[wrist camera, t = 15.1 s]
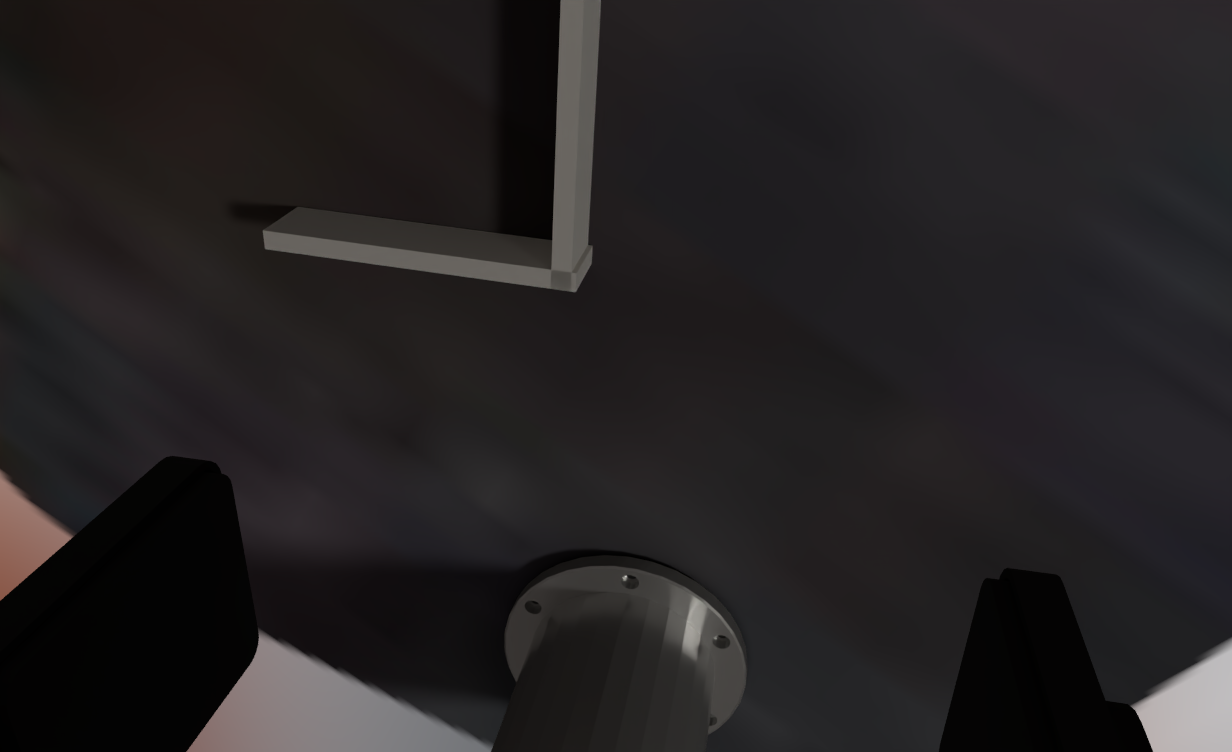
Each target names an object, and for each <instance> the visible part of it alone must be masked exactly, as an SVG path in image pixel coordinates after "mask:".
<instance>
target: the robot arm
mask: <svg viewBox="0 0 1232 752" xmlns="http://www.w3.org/2000/svg"><path fill="white" fill-rule="evenodd" d="M258 639H259V634H258V627H257V622H256V616H255V610H254V605H253V599H252V594H251V588H250V583H249V577H248V571H247V566H246V560H245V555H244V549H243V543H242V538H241V532H240V527H239V521H238V516H237V510H236V504H235V499H234V493H233V488H232V484H231V480H230V479H229V477H228V476H226V475H224V474H221V471H220V468H219V467H218V466H217V464H216V463H214V462H212V461H206V460H198V459H191V458H183V457H176V456H170V457H166V458H164V459H163V460H161V461H160V462H159V463H158V464H156V465H155V466H154V467H153V468H152V469H151V470H150V471H148V472H147V473H146V474H145V475H144V476H143V477H142V478H140V479H139V480H138V481H137V482H136V483H135V484H134V485H132V486H131V487H130V488H129V489H128V490H127V491H126V492H124V493H123V494H122V495H121V496H120V497H119V498H118V499H116V500H115V501H114V502H113V503H112V504H111V505H109V506H108V507H107V508H106V509H105V510H104V511H103V512H101V513H100V514H99V515H98V516H97V517H96V518H95V519H93V520H92V521H91V522H90V523H89V524H88V525H87V526H85V527H84V528H83V529H82V530H81V531H80V532H79V533H77V534H76V535H75V536H74V537H73V538H72V539H71V540H69V541H68V542H67V543H66V544H65V545H64V546H63V547H61V548H60V549H59V550H58V551H57V552H56V553H55V554H54V555H52V556H51V557H50V558H49V559H48V560H47V561H46V562H44V563H43V564H42V565H41V566H40V567H38V568H37V569H36V570H35V571H34V572H33V573H32V574H30V575H29V576H28V577H27V578H26V579H25V580H24V581H22V582H21V583H20V584H19V585H18V586H17V587H16V588H14V589H13V590H12V591H11V592H10V593H9V594H8V595H7V596H5V597H4V598H3V599H2V600H1V601H0V752H186V751H187V750H188V749H189V747H190V746H191V745H192V743H193V742H194V741H195V739H196V738H197V736H198V735H199V734H200V732H201V731H202V730H203V728H204V727H205V725H206V724H207V723H208V721H209V720H210V719H211V717H212V716H213V714H214V713H215V712H216V710H217V709H218V707H219V706H220V705H221V703H222V702H223V701H224V699H225V698H226V697H227V695H228V694H229V692H230V691H231V690H232V688H233V687H234V686H235V684H236V683H237V681H238V680H239V679H240V677H241V676H242V675H243V673H244V672H245V670H246V669H247V668H248V666H249V665H250V663H251V662H252V660H253V658H254V655H255V653H256V650H257V646H258ZM504 650H505V654H506V659H507V663H508V667H509V669H510V671H511V673H512V675H513V677H514V679H515V681H516V685H515V688H514V691H513V694H512V696H511V699H510V702H509V704H508V707H507V710H506V713H505V715H504V718H503V721H502V724H501V726H500V729H499V732H498V734H497V737H496V740H495V743H494V745H493V748H492V751H491V752H706V745H707V737H708V734H710V733H712V732H714V731H715V730H717V729H718V728H719V727H720V726H721V725H723V724H724V723H725V722H726V721H727V720H728V719H729V718H730V717H731V716H732V714H733V713H734V711H735V710H736V708H737V707H738V705H739V703H740V701H741V698H742V695H743V692H744V689H745V686H746V676H747V653H746V646H745V643H744V640H743V637H742V634H741V631H740V629H739V628H738V626H737V624H736V623H735V621H734V619H733V618H732V616H731V614H730V613H729V611H728V610H727V609H726V608H725V607H724V606H723V605H722V604H721V603H720V601H719V600H718V599H717V598H716V597H715V596H714V595H713V594H711V593H710V592H709V591H707V590H706V589H705V588H704V587H702V586H701V585H700V584H699V583H697V582H696V581H694V580H692V579H690V578H688V577H687V576H685V575H683V574H681V573H679V572H678V571H676V570H673V569H671V568H668V567H665V566H663V565H660V564H657V563H655V562H651V561H647V560H642V559H637V558H633V557H627V556H610V555H601V556H590V557H581V558H577V559H574V560H570V561H566V562H563V563H560V564H558V565H556V566H554V567H552V568H550V569H548V570H546V571H544V572H542V573H541V574H539V575H538V576H537V577H536V578H534V579H533V580H532V581H531V582H529V583H528V584H527V585H526V587H525V588H524V589H523V591H522V592H521V593H520V595H519V596H518V597H517V599H516V601H515V604H514V606H513V608H512V610H511V612H510V615H509V617H508V621H507V625H506V628H505V632H504ZM939 752H1153V750H1152V748H1151V745H1150V743H1149V740H1148V738H1147V735H1146V733H1145V730H1144V728H1143V725H1142V723H1141V721H1140V719H1139V717H1138V715H1137V713H1136V711H1135V710H1134V709H1133V708H1132V707H1130V706H1129V705H1128V704H1123V703H1116V702H1110V701H1105V698H1104V695H1103V693H1102V690H1101V687H1100V684H1099V682H1098V679H1097V676H1096V673H1095V670H1094V668H1093V665H1092V662H1091V659H1090V657H1089V654H1088V651H1087V648H1086V645H1085V643H1084V640H1083V637H1082V634H1081V632H1080V629H1079V626H1078V623H1077V621H1076V618H1075V615H1074V612H1073V609H1072V607H1071V604H1070V601H1069V598H1068V596H1067V593H1066V590H1065V587H1064V585H1063V582H1062V580H1061V578H1060V577H1059V576H1058V575H1055V574H1048V573H1040V572H1033V571H1026V570H1018V569H1011V568H1006V569H1004V570H1003V572H1002V574H1001V576H1000V579H999V580H997V579H990V578H986V579H985V580H984V581H983V583H982V586H981V589H980V593H979V597H978V601H977V605H976V609H975V612H974V616H973V620H972V624H971V628H970V632H969V635H968V639H967V643H966V647H965V651H964V655H963V658H962V662H961V666H960V670H959V674H958V678H957V681H956V685H955V689H954V693H953V697H952V701H951V704H950V708H949V712H948V716H947V720H946V724H945V727H944V731H943V735H942V739H941V743H940V748H939Z"/></svg>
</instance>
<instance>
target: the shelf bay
mask: <svg viewBox="0 0 1232 752" xmlns="http://www.w3.org/2000/svg"><path fill="white" fill-rule="evenodd" d="M600 10H601V0H561V5H560V34H559V63H558V92H557V121H556V150H555V179H554V208H553V237H552V240H546V239H538V238H531V237H523V236H516V235H508V234H500V233H493V232H485V231H478V230H470V229H463V228H455V227H447V226H440V225H432V224H425V223H417V222H410V221H402V220H394V219H387V218H379V217H372V216H364V215H357V214H349V213H342V212H334V211H326V210H319V209H311V208H304V207H297V208H295V209H294V210H292V211H291V212H289V213H288V214H286V215H285V216H283V217H282V218H281V219H279V220H278V221H276V222H275V223H273V224H272V225H270V226H269V227H267V228H266V229H264V230H263V236H264V244H265V249H269V250H276V251H283V252H290V253H298V254H305V255H312V256H319V257H326V258H334V259H341V260H348V261H355V262H362V263H370V264H377V265H384V266H391V267H398V268H405V269H413V270H420V271H427V272H434V273H441V274H449V275H456V276H463V277H470V278H477V279H485V280H492V281H499V282H506V283H513V284H521V285H528V286H535V287H542V288H549V289H557V290H564V291H571V292H576V291H577V289H578V287H579V285H580V283H581V282H582V280H583V278H584V276H585V274H586V273H587V271H588V269H589V267H590V265H591V264H592V246H591V245H588V232H589V214H590V195H591V177H592V158H593V140H594V121H595V103H596V84H597V66H598V47H599V28H600Z"/></svg>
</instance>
